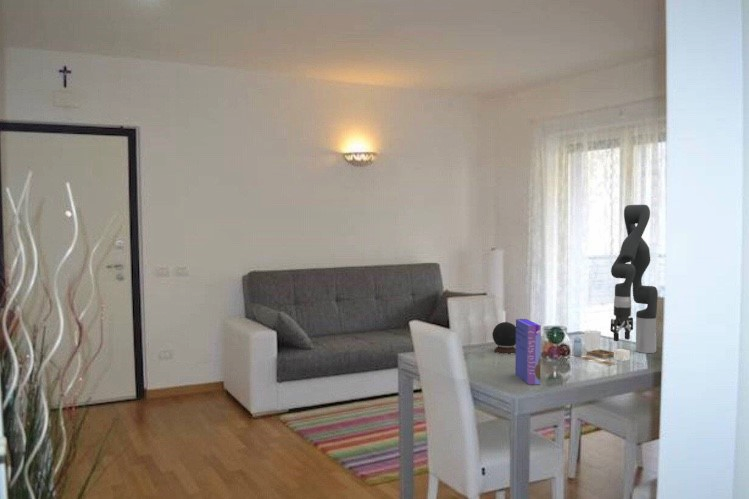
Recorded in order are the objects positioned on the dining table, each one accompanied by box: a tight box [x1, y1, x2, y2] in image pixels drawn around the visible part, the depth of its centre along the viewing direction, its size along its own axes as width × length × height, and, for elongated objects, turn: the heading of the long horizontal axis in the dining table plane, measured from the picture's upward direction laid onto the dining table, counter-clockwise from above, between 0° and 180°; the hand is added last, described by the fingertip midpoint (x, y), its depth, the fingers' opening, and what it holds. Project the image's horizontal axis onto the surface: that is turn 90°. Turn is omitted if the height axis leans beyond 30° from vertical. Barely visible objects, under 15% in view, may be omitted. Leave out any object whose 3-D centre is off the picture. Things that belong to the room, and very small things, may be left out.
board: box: [569, 354, 617, 367], centre depth 294 cm, size 7×22×1 cm, turn 34°
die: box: [613, 348, 631, 362], centre depth 295 cm, size 5×5×5 cm
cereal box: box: [514, 318, 542, 386], centre depth 259 cm, size 17×5×24 cm, turn 5°
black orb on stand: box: [492, 321, 516, 355], centre depth 315 cm, size 13×13×15 cm
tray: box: [586, 349, 614, 360], centre depth 303 cm, size 10×10×2 cm
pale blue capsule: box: [573, 336, 583, 357], centre depth 301 cm, size 4×4×9 cm
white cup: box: [583, 329, 602, 352], centre depth 316 cm, size 8×8×10 cm
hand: (621, 340), depth 294 cm, fingers open, 8 cm apart
